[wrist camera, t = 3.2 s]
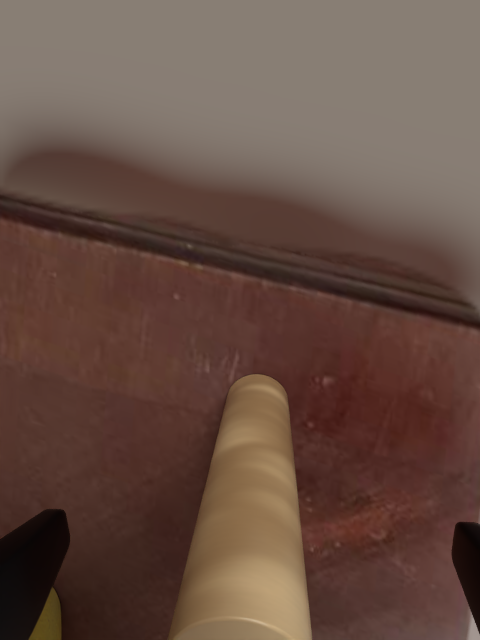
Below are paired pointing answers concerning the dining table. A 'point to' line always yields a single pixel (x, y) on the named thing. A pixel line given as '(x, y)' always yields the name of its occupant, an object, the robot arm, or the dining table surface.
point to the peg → (247, 529)
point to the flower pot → (49, 620)
